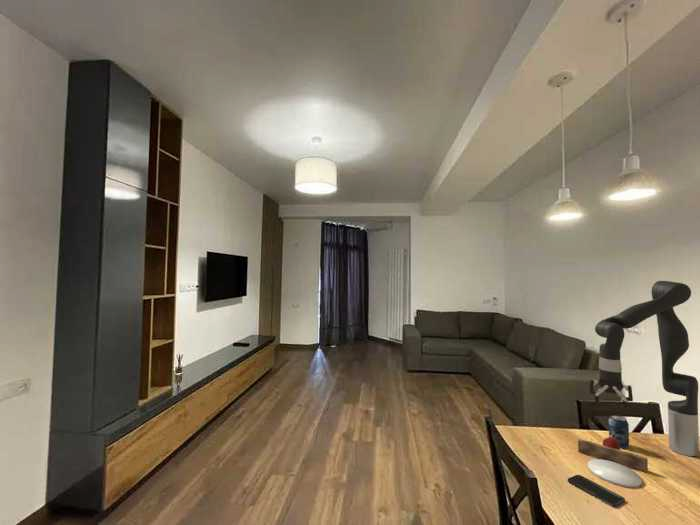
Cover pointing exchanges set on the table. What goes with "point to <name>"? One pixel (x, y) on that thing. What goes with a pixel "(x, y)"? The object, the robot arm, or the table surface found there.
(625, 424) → the soda can
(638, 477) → the plate
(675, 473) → the table surface
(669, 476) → the table surface
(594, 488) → the phone
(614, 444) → the onion
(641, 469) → the wooden plank
